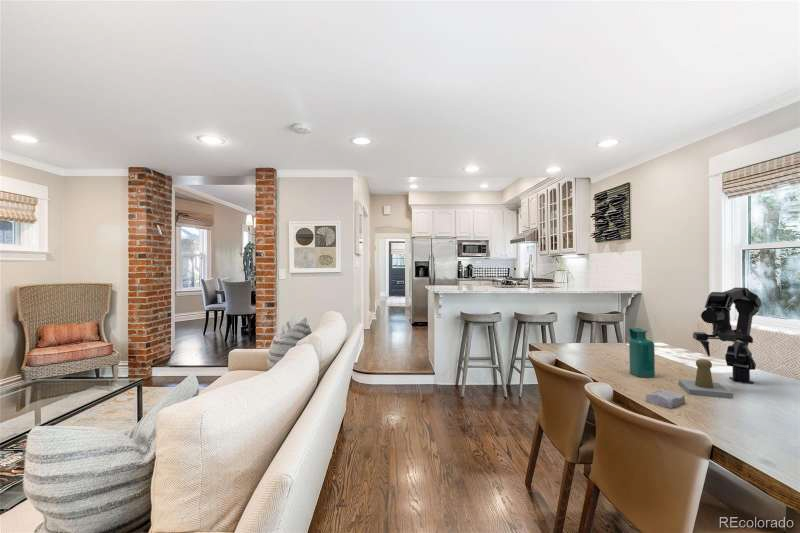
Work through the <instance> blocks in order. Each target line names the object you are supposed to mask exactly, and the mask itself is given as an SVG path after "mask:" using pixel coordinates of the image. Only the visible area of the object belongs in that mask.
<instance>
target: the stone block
mask: <svg viewBox="0 0 800 533" xmlns="http://www.w3.org/2000/svg"><path fill="white" fill-rule="evenodd" d="M645 401H646V402H647V403H648V404H651V403H652V405H655V406H659V407H663V408H667V409H673V408H675V407H678V406H680V405H684V404H685V402H686V397H685V395H684V394H681V393H677V392H675V391H671V390H655V391H652V392H651V393H648V394H645Z"/></svg>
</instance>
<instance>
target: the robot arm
mask: <svg viewBox="0 0 800 533" xmlns="http://www.w3.org/2000/svg"><path fill="white" fill-rule="evenodd" d="M733 304H734V308H735V310H736V312H737V313H738V315H737V322H736V327H735V328H736V329H733V328H732V324H731V311H732V308H731V307H732V306H733ZM761 306H762V301H761V298H760V297H759V296H758V294H756V293H754V292H752V291H751V290H750V289H749V288H748V287H732V288H731V289H728V290H725V291H712V292H710V293H709V295H708V296H707V299H706V302H705V305H704V308H706V309H705V310H703V311H702V312H701V314H700V318H701V319H702V321H703V322H704V323H706V324H711V325H712V332H711V334H708V333H706V332H703V331H702V332H701V331H694V332H693V333H692V338H693V339H694V340H696V341H698V342H699V343H700V344H701V346H702V347H703V349H704V351H705V354H706V355H707V357H709V358H710V357H711V352H710V341H709V339H710V340H720V341H721V342H732V344H731V345H728V346H727V348H726V353H725V355H724V357H725V362H726V366H728V367H731V368H732V376H729V377H728V378H729V379H730V380H732V381H734V383H744V384H755V382H754V381H752V380H751V371H752V370H753V371H755V370H756V367H757V363H756V362H755V360H754V358H753V357H752V355H753V353H752V352H751V350H750V348H749V344H753V343H754V339H753V337H752V336H751V329H752V324H753V317H754V316H755V315H756V314H758V313H759V311H760V308H761Z"/></svg>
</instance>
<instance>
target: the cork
mask: <svg viewBox="0 0 800 533" xmlns="http://www.w3.org/2000/svg"><path fill="white" fill-rule="evenodd" d="M695 365H696V367H697V368H696V377H695V380H694V381H695V385H696V386H698V387H702V388H714V387H713V383H714V382H713V376H712V371H711V369H712V366H713V364H712V362H711V361H710V360H708V359H704V358H702V359H701V358H699V359H696V361H695Z"/></svg>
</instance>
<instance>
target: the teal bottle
mask: <svg viewBox="0 0 800 533" xmlns="http://www.w3.org/2000/svg"><path fill="white" fill-rule="evenodd" d="M628 331H629V332H628V333H629V338H630V340H629V341H628V346H629V347H628V350H629V351H628V352H629V355H628V357H629V358H628V359H629V373H630V374H631V375H634V376H635V377H638V378H654V377H656V368H655V367H656V365H655V364H656V360H655V359H656V358H655V357H656V356H655V353H656V352H655V342H654V341H653V340H652V339H651V340H650V339H648V338H647V333H649V331H648V330H647V329H642V328H641V327H629V329H628Z"/></svg>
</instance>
